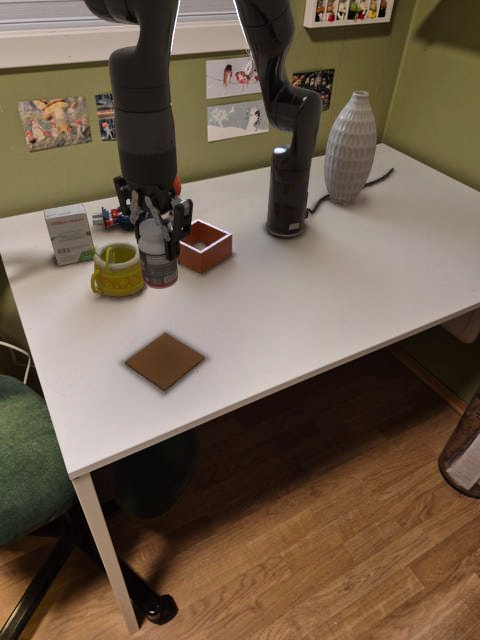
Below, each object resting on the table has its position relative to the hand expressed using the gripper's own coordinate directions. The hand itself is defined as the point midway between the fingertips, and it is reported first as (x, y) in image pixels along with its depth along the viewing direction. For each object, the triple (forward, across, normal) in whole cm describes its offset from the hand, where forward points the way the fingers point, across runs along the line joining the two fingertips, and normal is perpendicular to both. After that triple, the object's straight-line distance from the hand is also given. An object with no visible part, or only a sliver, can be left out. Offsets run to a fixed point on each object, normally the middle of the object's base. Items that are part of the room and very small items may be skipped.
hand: (157, 250), depth 72 cm
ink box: (+21, +37, -7) cm, 43 cm away
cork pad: (+21, -2, +3) cm, 21 cm away
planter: (+21, +16, -26) cm, 37 cm away
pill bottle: (+6, 0, 0) cm, 6 cm away
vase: (+21, +5, -73) cm, 77 cm away
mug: (+21, +21, -6) cm, 31 cm away
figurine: (+21, +40, -24) cm, 52 cm away
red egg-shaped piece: (+21, +40, -39) cm, 60 cm away
